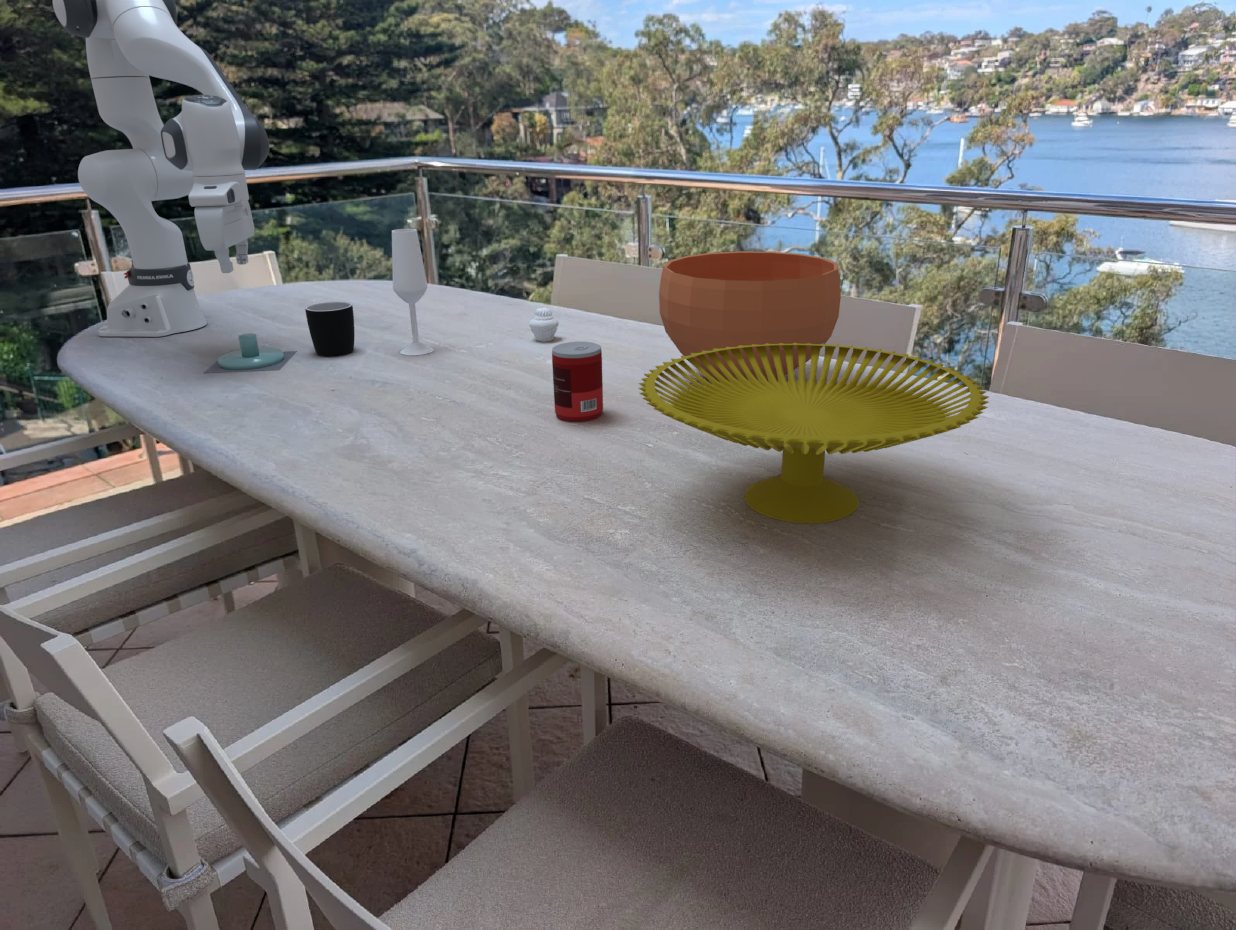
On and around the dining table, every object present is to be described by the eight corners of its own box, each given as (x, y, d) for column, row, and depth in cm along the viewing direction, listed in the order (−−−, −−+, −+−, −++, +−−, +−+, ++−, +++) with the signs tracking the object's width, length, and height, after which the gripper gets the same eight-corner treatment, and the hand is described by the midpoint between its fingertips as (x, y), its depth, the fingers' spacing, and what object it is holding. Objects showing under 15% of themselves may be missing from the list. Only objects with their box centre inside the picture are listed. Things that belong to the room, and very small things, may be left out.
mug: (367, 355, 183) (361, 305, 179) (327, 364, 177) (319, 313, 174) (336, 345, 191) (329, 297, 187) (296, 354, 185) (289, 304, 181)
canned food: (610, 408, 148) (608, 342, 144) (592, 424, 141) (590, 355, 137) (566, 404, 151) (563, 339, 147) (547, 420, 144) (543, 352, 140)
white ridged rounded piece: (557, 343, 189) (556, 309, 186) (528, 343, 189) (526, 310, 186) (560, 336, 195) (559, 303, 192) (531, 336, 195) (530, 303, 192)
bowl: (835, 413, 144) (844, 283, 136) (647, 405, 149) (646, 280, 142) (832, 362, 171) (840, 251, 163) (674, 357, 177) (674, 250, 169)
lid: (210, 371, 171) (204, 344, 169) (229, 354, 182) (224, 329, 180) (275, 368, 172) (270, 341, 170) (290, 352, 183) (286, 326, 181)
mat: (203, 377, 171) (202, 373, 170) (226, 357, 184) (226, 353, 183) (279, 373, 172) (279, 369, 171) (297, 354, 185) (297, 350, 184)
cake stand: (627, 448, 131) (625, 347, 125) (901, 436, 133) (911, 336, 128) (657, 587, 94) (657, 451, 88) (1038, 567, 96) (1061, 433, 90)
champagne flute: (437, 346, 188) (426, 227, 179) (428, 355, 182) (415, 232, 173) (406, 346, 189) (393, 228, 180) (395, 355, 183) (381, 232, 174)
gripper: (222, 187, 175) (235, 259, 180) (184, 197, 156) (200, 278, 161) (255, 186, 175) (267, 258, 180) (222, 196, 156) (236, 277, 161)
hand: (235, 268), depth 171 cm, fingers open, 8 cm apart
